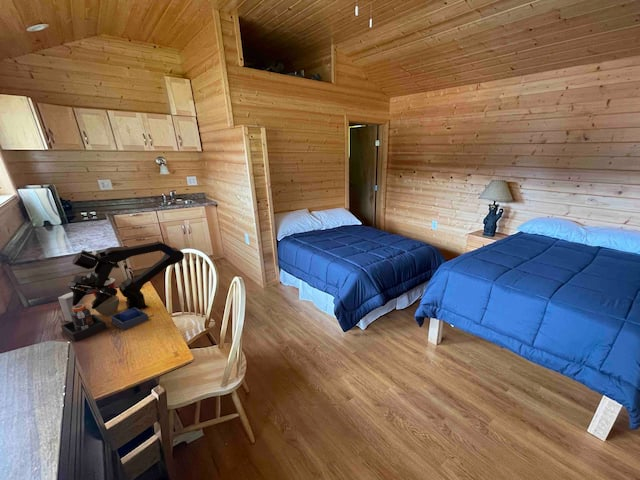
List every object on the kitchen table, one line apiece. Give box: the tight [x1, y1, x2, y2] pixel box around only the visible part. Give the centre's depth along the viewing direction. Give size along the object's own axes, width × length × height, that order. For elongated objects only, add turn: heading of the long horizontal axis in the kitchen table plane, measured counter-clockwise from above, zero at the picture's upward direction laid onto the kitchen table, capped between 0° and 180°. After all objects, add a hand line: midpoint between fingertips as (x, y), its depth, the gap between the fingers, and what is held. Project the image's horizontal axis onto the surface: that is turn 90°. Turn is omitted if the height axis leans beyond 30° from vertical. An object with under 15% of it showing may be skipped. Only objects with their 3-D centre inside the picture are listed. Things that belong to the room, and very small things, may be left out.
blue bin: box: [109, 307, 149, 331], centre depth 137 cm, size 10×10×4 cm
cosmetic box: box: [57, 291, 84, 322], centre depth 134 cm, size 6×4×12 cm
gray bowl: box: [91, 295, 120, 317], centre depth 141 cm, size 10×10×7 cm
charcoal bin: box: [60, 313, 108, 342], centre depth 128 cm, size 11×11×4 cm
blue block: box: [119, 309, 138, 322], centre depth 136 cm, size 4×4×4 cm
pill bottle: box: [71, 304, 94, 332], centre depth 127 cm, size 6×6×11 cm
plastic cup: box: [90, 277, 116, 298], centre depth 148 cm, size 11×11×12 cm
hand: (83, 307), depth 127 cm, fingers open, 9 cm apart
